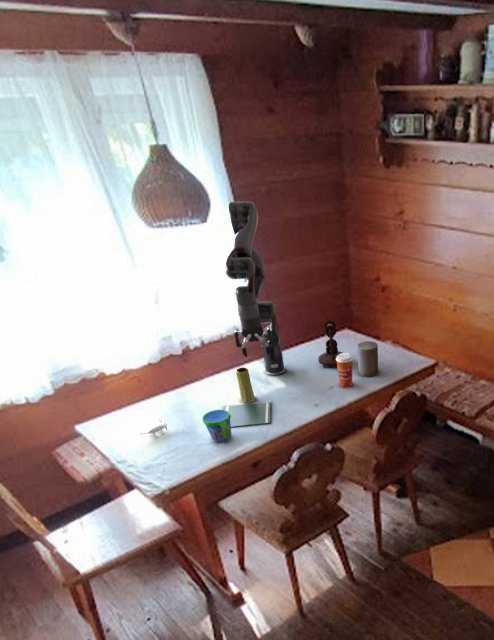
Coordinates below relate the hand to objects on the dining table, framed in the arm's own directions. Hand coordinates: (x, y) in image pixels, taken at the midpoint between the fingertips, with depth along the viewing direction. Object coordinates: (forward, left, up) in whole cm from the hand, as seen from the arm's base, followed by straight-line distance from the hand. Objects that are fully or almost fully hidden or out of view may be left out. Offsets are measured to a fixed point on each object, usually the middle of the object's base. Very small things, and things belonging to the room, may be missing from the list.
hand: (257, 355), depth 204 cm
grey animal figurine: (+11, -45, -26) cm, 53 cm away
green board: (+1, -9, -25) cm, 27 cm away
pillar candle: (-30, +48, -26) cm, 62 cm away
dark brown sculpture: (-45, +32, -26) cm, 61 cm away
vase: (-13, -9, -26) cm, 30 cm away
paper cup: (-19, +36, -26) cm, 48 cm away
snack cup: (+18, -18, -26) cm, 36 cm away
